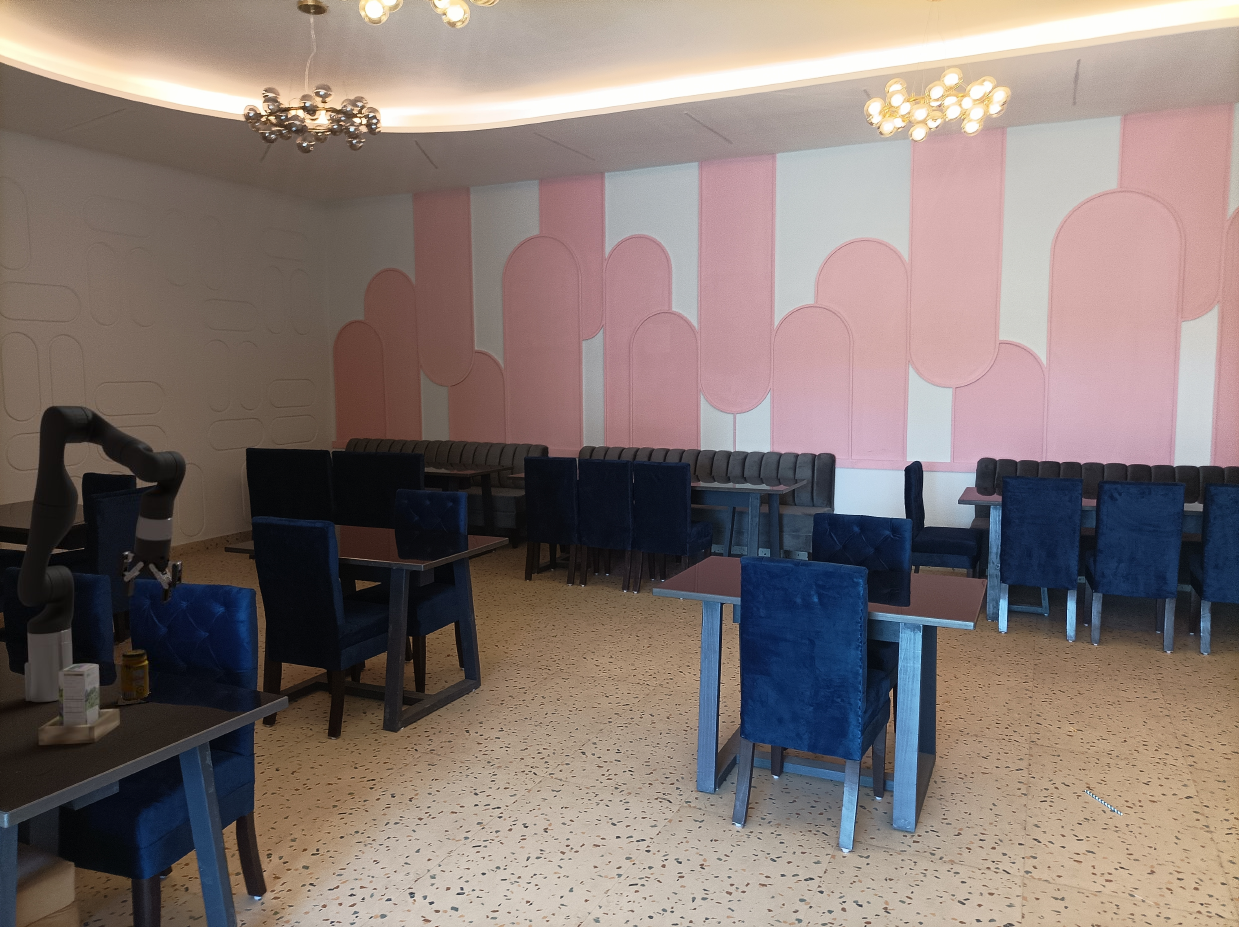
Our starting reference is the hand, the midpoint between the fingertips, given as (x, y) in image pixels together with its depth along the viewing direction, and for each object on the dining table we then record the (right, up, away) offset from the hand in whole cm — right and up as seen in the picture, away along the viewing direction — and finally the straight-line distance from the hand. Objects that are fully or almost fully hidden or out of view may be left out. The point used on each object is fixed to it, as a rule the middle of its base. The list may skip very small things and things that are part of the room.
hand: (147, 598), depth 203 cm
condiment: (-9, -27, +10) cm, 31 cm away
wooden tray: (-7, -28, -14) cm, 32 cm away
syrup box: (-7, -28, -14) cm, 32 cm away
